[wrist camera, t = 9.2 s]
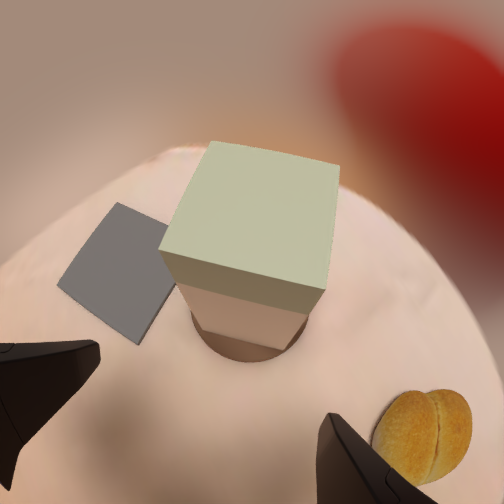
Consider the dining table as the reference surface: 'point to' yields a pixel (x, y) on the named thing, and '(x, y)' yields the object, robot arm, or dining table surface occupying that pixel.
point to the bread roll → (424, 434)
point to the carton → (253, 241)
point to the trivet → (242, 345)
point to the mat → (121, 272)
